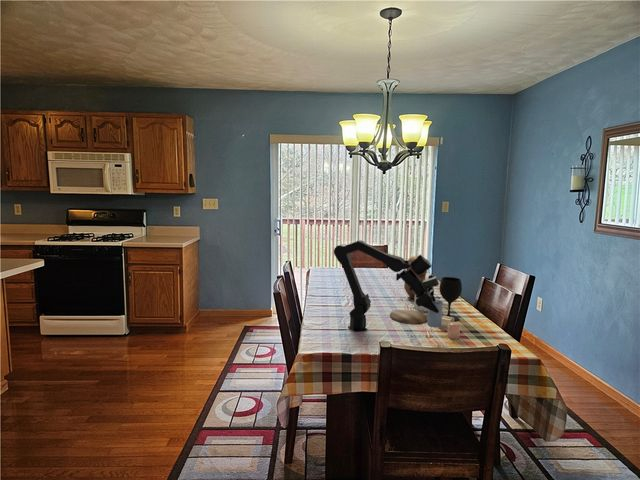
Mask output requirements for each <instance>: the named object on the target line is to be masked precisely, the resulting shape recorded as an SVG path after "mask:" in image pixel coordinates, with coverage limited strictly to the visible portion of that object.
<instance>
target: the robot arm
mask: <svg viewBox="0 0 640 480" xmlns="http://www.w3.org/2000/svg"><path fill="white" fill-rule="evenodd" d="M356 251H360V252H362V253H364V254H366V255H368V256H370V257H372V258H373V259H375V260H378V261H379V262H381V263H382V264H384V265H385V266H386V267H387V268H388V269H390V270H391V271H392V272H394V273H396V274H395V276H396V278H395V280H396V281H399V280H400V279H401V280H402V281H403V283H404V284H405V283H406V284H407V286H408V287H409V290H410V291H411V290H412V291H413V292H414V293H415V295H416V298H417V299H416V304H417V305H418V307H419V306H423V307H425V308H427V309H429V310H432V311H434V312H436V313H438V312H439V310H438V309H437V307H436V306H435V304H434V302H433V301H432V300H436V298H435V295H434V294H435V290H433V289H434V287H437V286H440V281H439V279H438V277H437V275H435V276H434V275H433V274H430V275H428V278H425V279H426V280H423V279H421V278H420V279H419V277H418V276H417V275H419V274H420V275H422V274H423V273H424V272H426V271H427V272H428V270H430V269H431V268H433V267H432V264H431V263H430V261H429V260H428V259H427V258H425V257H424V255H422V254H418V257H417V258H416V259H415V260H414V261H412V262H411V261H408V260H406V259H404V258H403V257H401V256H398V255H396V254H391V253H387V252H385V251H383V250H380V249H378V248H377V247H375V246H373V245H371V244H369V243H367V242H365V241H364V240H363V239H362V240H361V239H360V240H359V239H358V240H357V241H354V242H351V243H348V244H346V243H342V244H338V245H337V246H335V247H334V249H333V254H334V256H335V258H336V260H337V261H338V263H339V264H340V265H341V266H342V269H343V271H344V275H345V276H346V280H347V282H348V286H349V288H350V290H351V293H352V297H353V298H352V300H353V302H352V303H353V307H354V308H353V309H351V310H350V312H349V314H348V315H349V316H350V317H349V325H348V326H347V328H348V329H350V330H352V331H353V332H360V331H367V330H368V328H367V318H366V313H367V312H368V311H369V310H370V308H371V306H372V305H371V303H372V300H371V299H370V296H369V293H366V294H365V293H364V292H363V289H362V287H361V284H360V281H359V278H358V275H357V273H356V270H355V268H354V266H353V262H352V253H353V252H356ZM410 266H411V268H410V269H408V268H409V267H410ZM407 269H408V270H407ZM411 269H412V270H413V271H414V272H415V273H416V274H417V275H416V274H415V273H414V272H413V271H412V270H411ZM430 290H433V291H432V292H431V291H430Z"/></svg>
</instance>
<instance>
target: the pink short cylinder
mask: <svg viewBox="0 0 640 480" xmlns="http://www.w3.org/2000/svg"><path fill="white" fill-rule="evenodd" d="M460 335H461V324H460V323H459V322H457V321H456V322H449V323H448V331H447V333H446V338H448V339H450V340H459V339H460V337H461V336H460Z"/></svg>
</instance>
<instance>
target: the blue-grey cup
mask: <svg viewBox="0 0 640 480" xmlns="http://www.w3.org/2000/svg"><path fill="white" fill-rule="evenodd" d="M432 301H433V302H434V304H435V306H436V307H437V309H438V310H439V312H438V313H436V312H434V311H432V310H429V309H428V311H427V326H428V327H430V328H435V329H436V328H438V329H440V328H439V327H441V323H442V314H443V307H444V305H443V304H444V302H443V301H440V300H432Z"/></svg>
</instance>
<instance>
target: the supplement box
mask: <svg viewBox="0 0 640 480" xmlns="http://www.w3.org/2000/svg"><path fill="white" fill-rule="evenodd" d="M433 290H434V289H433ZM433 290H430V291H431V292H432V291H433ZM434 291H435V290H434ZM416 299H417V298H416V295H415V299H413V300H414V302H413V304H414V305H413V308H414V309H416V310H420V311H422V312H423V311H424V312H428V309H427V308H425V307H423V306H419V307H418V305H417V304H416Z"/></svg>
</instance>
